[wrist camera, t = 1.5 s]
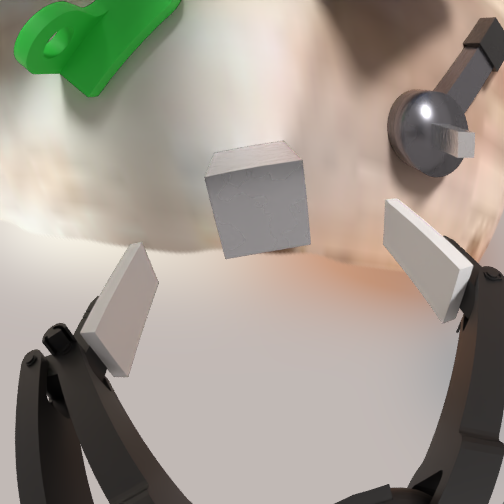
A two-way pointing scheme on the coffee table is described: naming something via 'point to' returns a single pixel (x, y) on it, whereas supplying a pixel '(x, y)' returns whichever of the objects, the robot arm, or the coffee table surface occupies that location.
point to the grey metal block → (258, 199)
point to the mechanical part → (88, 39)
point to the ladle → (446, 106)
